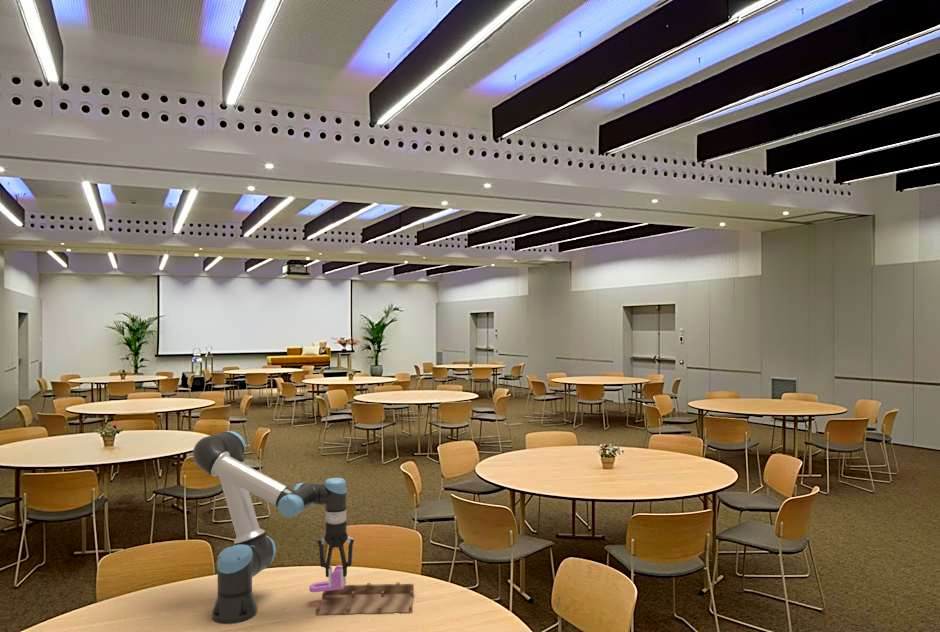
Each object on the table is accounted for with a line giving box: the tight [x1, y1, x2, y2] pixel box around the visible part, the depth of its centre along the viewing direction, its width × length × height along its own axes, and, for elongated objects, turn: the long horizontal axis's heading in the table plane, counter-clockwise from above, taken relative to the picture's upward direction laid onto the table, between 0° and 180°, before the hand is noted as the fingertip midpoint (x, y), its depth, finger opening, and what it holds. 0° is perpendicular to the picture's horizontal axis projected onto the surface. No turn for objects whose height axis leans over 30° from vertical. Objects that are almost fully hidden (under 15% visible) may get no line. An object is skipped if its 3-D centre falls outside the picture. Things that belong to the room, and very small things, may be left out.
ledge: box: [315, 581, 415, 617], centre depth 242 cm, size 34×17×5 cm, turn 92°
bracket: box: [308, 564, 347, 593], centre depth 244 cm, size 13×6×7 cm, turn 90°
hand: (336, 585), depth 240 cm, fingers closed on bracket, 4 cm apart
